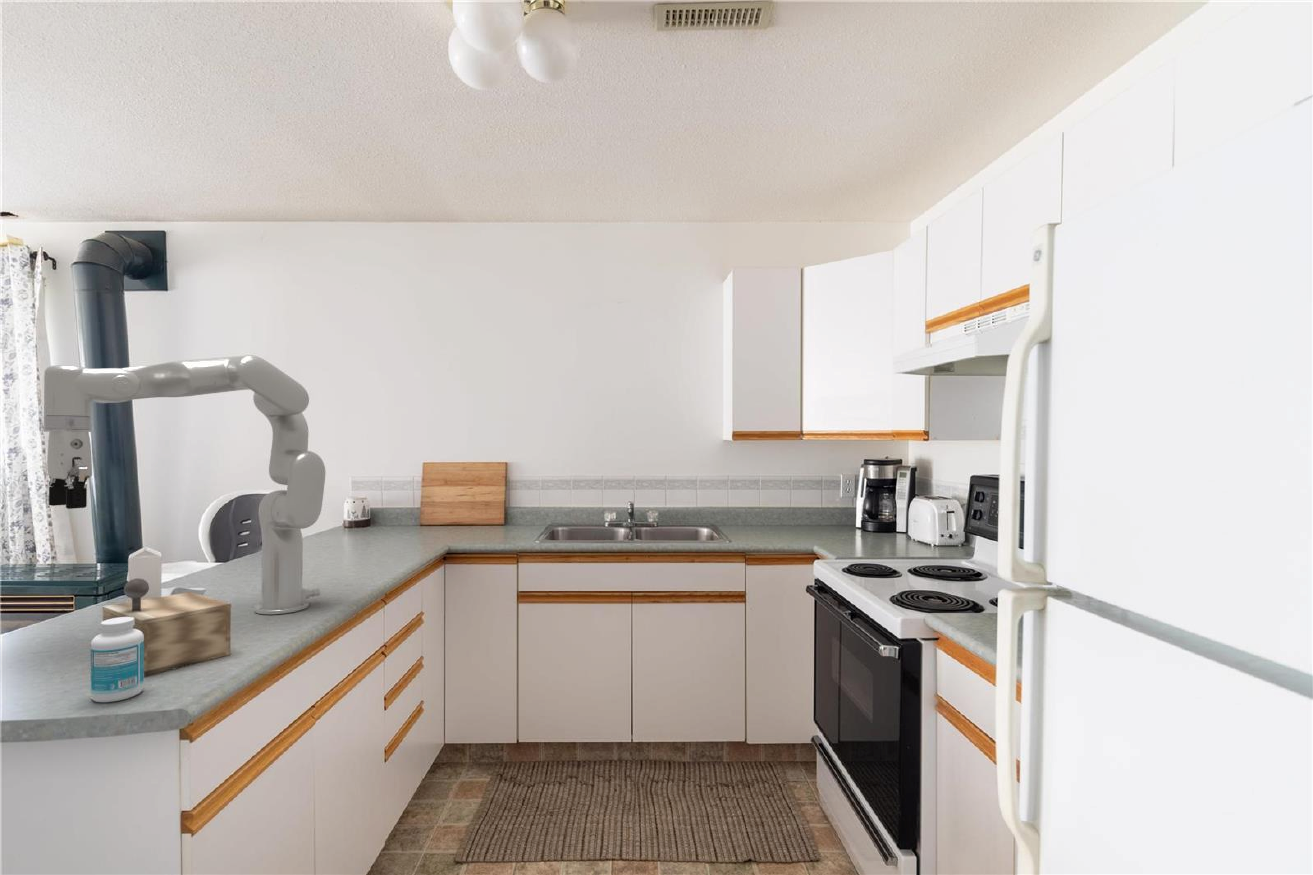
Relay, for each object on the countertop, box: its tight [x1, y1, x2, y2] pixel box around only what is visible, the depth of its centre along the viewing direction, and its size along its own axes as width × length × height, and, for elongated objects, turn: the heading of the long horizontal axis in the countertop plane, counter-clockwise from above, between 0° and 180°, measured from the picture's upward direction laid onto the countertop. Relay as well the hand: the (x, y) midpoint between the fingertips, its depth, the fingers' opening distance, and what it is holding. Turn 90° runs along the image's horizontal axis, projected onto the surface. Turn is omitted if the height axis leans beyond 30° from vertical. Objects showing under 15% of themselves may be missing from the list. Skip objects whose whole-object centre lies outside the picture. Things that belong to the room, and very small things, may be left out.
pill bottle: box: [90, 617, 145, 703], centre depth 119 cm, size 8×7×14 cm
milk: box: [127, 539, 163, 603], centre depth 152 cm, size 6×6×22 cm
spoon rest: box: [161, 586, 207, 597], centre depth 177 cm, size 24×12×7 cm, turn 23°
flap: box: [102, 578, 232, 625], centre depth 139 cm, size 16×18×7 cm
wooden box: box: [102, 606, 232, 678], centre depth 139 cm, size 16×18×10 cm
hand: (67, 506), depth 140 cm, fingers open, 9 cm apart
